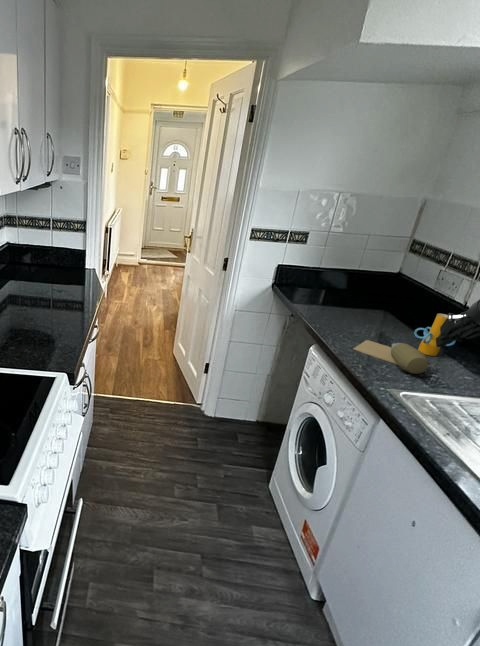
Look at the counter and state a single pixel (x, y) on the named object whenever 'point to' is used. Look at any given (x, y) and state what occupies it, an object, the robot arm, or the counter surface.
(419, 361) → the squeeze bottle
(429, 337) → the orange cylinder with loops
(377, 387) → the counter surface
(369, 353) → the cork mat
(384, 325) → the counter surface
